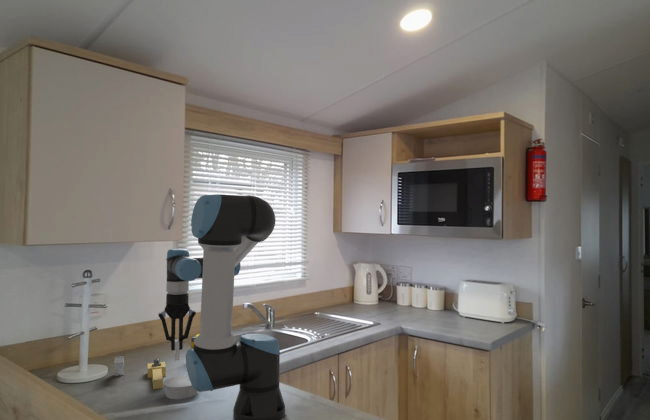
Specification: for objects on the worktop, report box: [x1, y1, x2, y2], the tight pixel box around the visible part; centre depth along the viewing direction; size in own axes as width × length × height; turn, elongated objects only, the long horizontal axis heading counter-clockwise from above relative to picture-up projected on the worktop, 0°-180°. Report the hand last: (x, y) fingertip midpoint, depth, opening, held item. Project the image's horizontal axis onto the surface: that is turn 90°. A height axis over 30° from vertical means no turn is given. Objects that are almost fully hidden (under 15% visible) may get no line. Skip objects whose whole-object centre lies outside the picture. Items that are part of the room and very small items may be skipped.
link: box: [147, 361, 167, 390], centre depth 161 cm, size 18×6×3 cm, turn 22°
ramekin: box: [163, 374, 198, 400], centre depth 148 cm, size 11×11×5 cm
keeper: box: [113, 355, 125, 377], centre depth 163 cm, size 8×3×7 cm, turn 22°
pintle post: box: [153, 358, 161, 367], centre depth 166 cm, size 2×2×6 cm
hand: (176, 359), depth 162 cm, fingers closed
